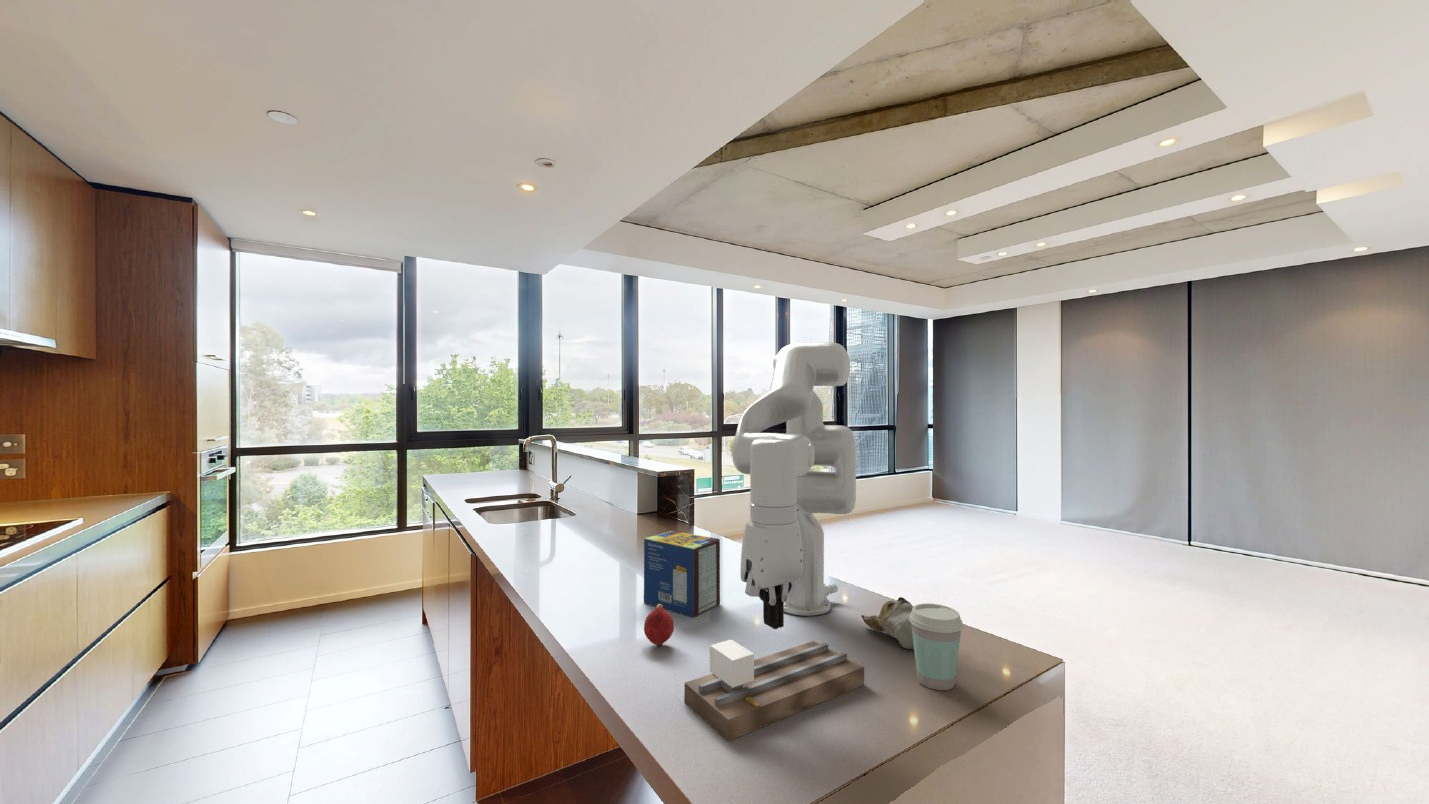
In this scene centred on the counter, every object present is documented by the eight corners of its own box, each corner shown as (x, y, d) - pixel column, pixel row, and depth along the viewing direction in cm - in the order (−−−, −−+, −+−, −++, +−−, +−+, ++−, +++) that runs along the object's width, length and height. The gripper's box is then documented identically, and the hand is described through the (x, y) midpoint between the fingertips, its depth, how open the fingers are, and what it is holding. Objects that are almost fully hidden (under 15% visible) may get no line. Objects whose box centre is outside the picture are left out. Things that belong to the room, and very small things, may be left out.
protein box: (670, 591, 136) (671, 529, 136) (720, 604, 127) (721, 538, 127) (642, 603, 128) (642, 537, 128) (693, 618, 119) (693, 548, 119)
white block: (730, 676, 86) (731, 639, 87) (753, 693, 81) (754, 653, 82) (710, 683, 84) (710, 645, 84) (732, 701, 79) (732, 660, 79)
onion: (668, 653, 102) (669, 611, 102) (639, 651, 103) (640, 608, 103) (677, 640, 107) (677, 600, 107) (649, 638, 109) (649, 598, 109)
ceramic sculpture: (896, 609, 101) (858, 588, 116) (897, 657, 100) (858, 629, 115) (946, 606, 103) (902, 585, 118) (947, 652, 103) (903, 626, 117)
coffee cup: (960, 674, 94) (960, 605, 95) (965, 699, 86) (966, 624, 86) (908, 666, 97) (908, 599, 97) (909, 689, 89) (909, 617, 89)
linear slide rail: (813, 656, 101) (813, 635, 101) (864, 684, 91) (864, 660, 91) (684, 701, 85) (684, 676, 85) (728, 741, 75) (728, 712, 75)
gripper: (792, 504, 95) (792, 607, 95) (722, 515, 87) (722, 628, 87) (822, 512, 89) (822, 622, 89) (751, 525, 81) (751, 646, 81)
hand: (773, 625), depth 88 cm, fingers closed
